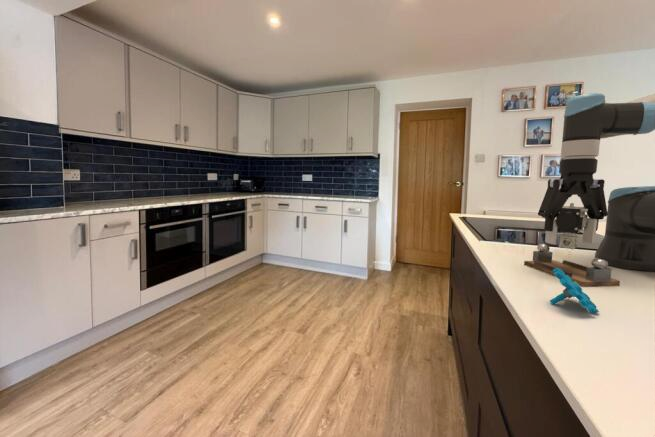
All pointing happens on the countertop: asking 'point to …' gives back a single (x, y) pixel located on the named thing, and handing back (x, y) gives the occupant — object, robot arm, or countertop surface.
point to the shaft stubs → (592, 273)
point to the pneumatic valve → (570, 224)
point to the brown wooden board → (570, 272)
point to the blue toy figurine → (572, 292)
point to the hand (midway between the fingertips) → (569, 243)
